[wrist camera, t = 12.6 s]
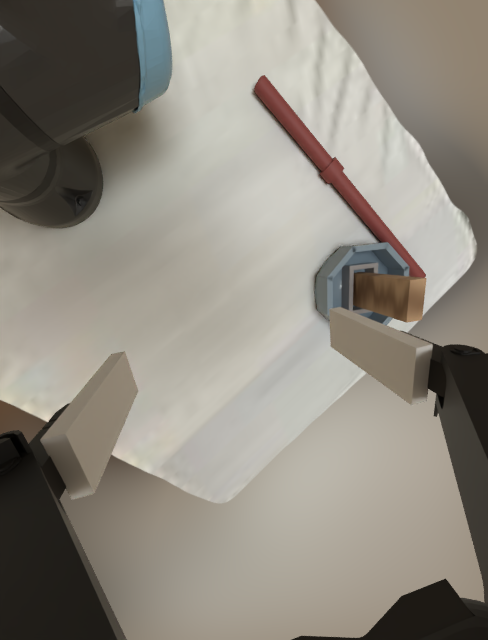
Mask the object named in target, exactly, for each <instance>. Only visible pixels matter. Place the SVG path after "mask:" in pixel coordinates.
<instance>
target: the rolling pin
mask: <svg viewBox="0 0 488 640" xmlns="http://www.w3.org/2000/svg"><path fill="white" fill-rule="evenodd" d="M254 92H255V93H256V94H257V95H258V97H259V98H260V99H261V100H262V101H263V103H264V104H265V105H266V106H267V107H268V109H269V110H270V111H271V112H272V113H273V114H274V116H275V117H276V118H277V119H278V120H279V122H280V123H281V124H282V125H283V126H284V127H285V129H286V130H287V131H288V132H289V133H290V135H291V136H292V137H293V138H294V139H295V141H296V142H297V143H298V144H299V145H300V146H301V148H302V149H303V150H304V151H305V152H306V154H307V155H308V156H309V157H310V158H311V160H312V161H313V162H314V163H315V164H316V165H317V167H318V168H319V169H320V170H321V172H320V175H321V176H322V177H323V179H324V180H325V181H326V182H327V183H328V184H330V183H332V184H333V186H334V187H335V188H336V189H337V190H338V192H339V193H340V194H341V195H342V196H343V197H344V199H345V200H346V201H347V202H348V203H349V205H350V206H351V207H352V208H353V209H354V211H355V212H356V213H357V214H358V215H359V216H360V218H361V219H362V220H363V221H364V222H365V224H366V225H367V226H368V227H369V228H370V230H371V231H372V232H373V233H374V234H375V235H376V237H377V238H378V239H379V240H380V241H381V243H382V242H388V243H389V244H390V245H391V246H392V247H393V249H394V250H395V251H396V252H397V253H398V254H399V255H400V257H401V258H402V259H403V260H404V261H405V262H406V263H407V265H408V266H410V268H409V276H410V277H420V278H425V276H426V274H425V273H424V272H423V270H422V269H421V268H420V267H419V265H418V264H417V263H416V262H415V260H414V259H413V258H412V257H411V255H410V254H409V253H408V252H407V251H406V249H405V248H404V247H403V246H402V244H401V243H400V242H399V241H398V239H397V238H396V237H395V236H394V234H393V233H392V232H391V231H390V230H389V228H388V227H387V226H386V225H385V223H384V222H383V221H382V220H381V218H380V217H379V216H378V215H377V213H376V212H375V211H374V210H373V209H372V207H371V206H370V205H369V204H368V202H367V201H366V200H365V199H364V197H363V196H362V195H361V194H360V192H359V191H358V190H357V189H356V188H355V186H354V185H353V184H352V183H351V181H350V180H349V179H348V178H347V176H346V175H345V174H344V173H343V169H344V167H343V166H342V165H341V164H340V162H339V161H338V160H337V159H336V157H334V158H333V159H332V158H331V157H330V155H329V154H328V153H327V152H326V150H325V149H324V148H323V147H322V146H321V144H320V143H319V142H318V141H317V139H316V138H315V137H314V136H313V134H312V133H311V132H310V131H309V129H308V128H307V127H306V126H305V125H304V123H303V122H302V121H301V120H300V118H299V117H298V116H297V115H296V113H295V112H294V111H293V110H292V108H291V107H290V106H289V105H288V104H287V102H286V101H285V100H284V99H283V97H282V96H281V95H280V94H279V92H278V91H277V90H276V89H275V87H274V86H273V85H272V84H271V83H270V81H269V80H268V79H267V78H266V76H265V75H263V76H261V77H260V79H259V80H258V82H257V83H256V85H255V88H254Z"/></svg>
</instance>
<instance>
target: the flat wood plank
mask: <svg viewBox="0 0 488 640" xmlns="http://www.w3.org/2000/svg"><path fill="white" fill-rule="evenodd" d="M425 286H426V278H420V277H410V276H399V275H388V274H378V273H367V272H356V273H354V279H353V305H354V306H357V307H360V308H363V309H366V310H369V311H372V312H376V313H379V314H382V315H385V316H388V317H391V318H394V319H397V320H401V321H404V322H412V321H418V320H422V314H423V305H424V295H425Z"/></svg>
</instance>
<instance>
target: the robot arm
mask: <svg viewBox="0 0 488 640" xmlns="http://www.w3.org/2000/svg"><path fill="white" fill-rule="evenodd" d="M171 75H172V50H171V42H170V34H169V28H168V22H167V16H166V11H165V6H164V2H163V0H0V207H1V208H2V209H3V210H5V211H6V212H8V213H9V214H11V215H13V216H14V217H16V218H18V219H21V220H23V221H25V222H28V223H31V224H35V225H39V226H45V227H51V228H64V227H70V226H73V225H76V224H78V223H80V222H82V221H84V220H85V219H87V218H88V217H89V216H90V215H91V214H92V213H93V212H94V210H95V209H96V207H97V206H98V204H99V201H100V198H101V195H102V189H103V177H102V171H101V167H100V164H99V161H98V158H97V156H96V154H95V152H94V150H93V148H92V147H91V145H90V144H89V143H88V141H87V140H86V139H85V137H84V135H86V134H88V133H90V132H92V131H94V130H96V129H98V128H100V127H102V126H104V125H106V124H108V123H110V122H112V121H114V120H116V119H118V118H120V117H122V116H124V115H126V114H128V113H130V112H133V113H137V112H139V111H140V110H141V109H142V107H143V106H144V105H145V104H147V103H149V102H151V101H152V100H154V99H156V98H158V97H159V96H161V95H162V94H164V92H165V91H166V90H167V88H168V85H169V82H170V79H171ZM329 313H330V338H331V347H332V348H334V349H335V350H336V351H338V352H339V353H340V354H342V355H343V356H345V357H346V358H347V359H349V360H350V361H351V362H353V363H354V364H356V365H357V366H358V367H360V368H361V369H362V370H364V371H365V372H367V373H368V374H369V375H371V376H372V377H374V378H375V379H376V380H378V381H379V382H380V383H382V384H383V385H384V386H386V387H387V388H389V389H390V390H391V391H393V392H394V393H395V394H397V395H398V396H400V397H401V398H402V399H404V400H405V401H406V402H408V403H409V404H411V405H414V404H418V403H421V402H424V401H427V394H428V389H430V390H431V391H433V392H435V393H436V401H435V410H434V416H436V417H437V414H438V413H439V416H440V420H441V424H442V428H443V431H444V435H445V439H446V443H447V446H448V451H449V454H450V458H451V462H452V466H453V469H454V473H455V477H456V481H457V484H458V488H459V492H460V496H461V499H462V503H463V507H464V511H465V514H466V518H467V522H468V525H469V530H470V533H471V537H472V541H473V545H474V548H475V552H476V556H477V559H478V563H479V567H480V571H481V574H482V580H483V586H484V601H485V603H484V602H480V601H477V600H471V599H466V598H460V597H459V596H458V594H457V593H456V592H455V590H454V589H453V588H452V586H451V585H450V584H449V582H448V581H447V580H446V579H444V580H441V581H439V582H436V583H434V584H431V585H428V586H426V587H423V588H421V589H418V590H416V591H413V592H411V593H408V594H406V595H403V596H401V597H400V598H399V600H398V601H397V602H396V603H395V604H394V605H393V606H392V607H391V608H390V609H389V610H388V611H387V613H386V614H385V615H384V616H383V617H382V618H381V619H380V620H379V621H378V622H377V623H376V624H375V626H374V627H373V628H372V629H371V630H370V631H369V632H368V633H367V634H366V635H365V636H363V637H360V638H342V637H341V638H340V637H316V636H300V637H297V638H295V639H292V640H488V353H487V354H485V353H484V352H482V351H481V350H479V349H477V348H474V347H470V346H466V345H446V346H444V347H442V346H439V345H436V344H434V343H431V342H429V341H426V340H424V339H420V338H419V337H416V336H412V335H411V334H409V333H406V332H404V331H399V330H396V329H394V328H391V327H389V326H386V325H384V324H381V323H379V322H376V321H374V320H371V319H369V318H366V317H364V316H361V315H359V314H356V313H354V312H351V311H349V310H346V309H344V308H341V307H337V308H332V309H329ZM137 392H138V389H137V386H136V383H135V380H134V377H133V374H132V371H131V368H130V365H129V362H128V359H127V357H126V354H125V352H120V353H115V354H111V355H110V356H109V358H108V359H107V360H106V361H105V362H104V364H103V365H102V366H101V367H100V368H99V370H98V371H97V372H96V373H95V374H94V376H93V377H92V378H91V379H90V380H89V382H88V383H87V384H86V385H85V386H84V388H83V389H82V390H81V391H80V392H79V394H78V395H77V396H76V397H75V398H74V400H73V401H72V402H71V403H69V404H67V405H65V406H64V407H63V408H61V409H60V410H59V411H57V412H56V413H55V414H54V415H53V417H52V418H51V419H50V420H49V422H48V423H47V424H46V425H45V426H44V427H43V428H42V430H40V432H39V433H38V434H37V435H36V436H35V437H34V438H33V440H32V441H31V442H30V443H29V444H28V443H27V441H26V439H25V437H24V435H23V434H22V432H20V431H19V430H17V431H10V432H6V433H3V434H1V435H0V640H127V639H126V637H125V635H124V633H123V631H122V629H121V627H120V625H119V623H118V621H117V618H116V617H115V614H114V612H113V610H112V608H111V606H110V604H109V602H108V600H107V598H106V595H105V593H104V591H103V589H102V587H101V585H100V583H99V581H98V579H97V576H96V574H95V572H94V570H93V568H92V566H91V564H90V562H89V560H88V558H87V556H86V553H85V551H84V549H83V547H82V545H81V543H80V541H79V539H78V537H77V535H76V533H75V530H74V528H73V526H72V524H71V522H70V520H69V518H68V516H67V514H66V512H65V509H64V507H63V506H62V504H61V502H60V500H59V499H60V497H61V495H62V494H63V492H64V490H65V488H66V489H67V491H68V493H69V495H70V497H71V499H72V500H73V499H76V498H80V497H84V496H88V495H91V494H94V493H95V491H96V488H97V486H98V484H99V482H100V479H101V477H102V474H103V472H104V470H105V468H106V465H107V463H108V460H109V458H110V456H111V453H112V451H113V449H114V446H115V444H116V442H117V439H118V437H119V435H120V432H121V430H122V428H123V425H124V423H125V421H126V418H127V416H128V414H129V411H130V409H131V406H132V404H133V402H134V399H135V397H136V395H137Z"/></svg>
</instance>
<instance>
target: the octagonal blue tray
mask: <svg viewBox="0 0 488 640" xmlns="http://www.w3.org/2000/svg"><path fill="white" fill-rule="evenodd" d="M409 268H410V266H408V265H407V263H406V262H405V261H404V260H403V259H402V258H401V257H400V255H399V254H398V253H397V252H396V251H395V250H394V249H393V247H392V246H391V245H390V244H389V243H388V242H382V243H372V244H364V245H355V246H345V247H339V249H338V250H337V251H336V252H335V253H334V254H332V255H331V256H330V257H329V258H328V259H327V260H326V261H325V263H324V264H323V265H322V267H321V269H320V271H319V273H318V275H317V278H316V282H315V300H316V304H317V310H318V311H319V312H320V313H321V314H322V315H323V316H324V317H325V318H326V319H328V320H329V321H330V313H329V309H332V308H337V307H341V308H344V309H346V310H349V311H351V312H354V313H356V314H359V315H361V316H364V317H366V318H369V319H371V320H374V321H376V322H379V323H381V324H384V325H387V324H388V323H389V322H390V321H391V320H392V318H391V317H388V316H385V315H382V314H379V313H376V312H372V311H369V310H366V309H363V308H360V307H357V306H354V305H353V279H354V273H356V272H367V273H378V274H388V275H399V276H409Z"/></svg>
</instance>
